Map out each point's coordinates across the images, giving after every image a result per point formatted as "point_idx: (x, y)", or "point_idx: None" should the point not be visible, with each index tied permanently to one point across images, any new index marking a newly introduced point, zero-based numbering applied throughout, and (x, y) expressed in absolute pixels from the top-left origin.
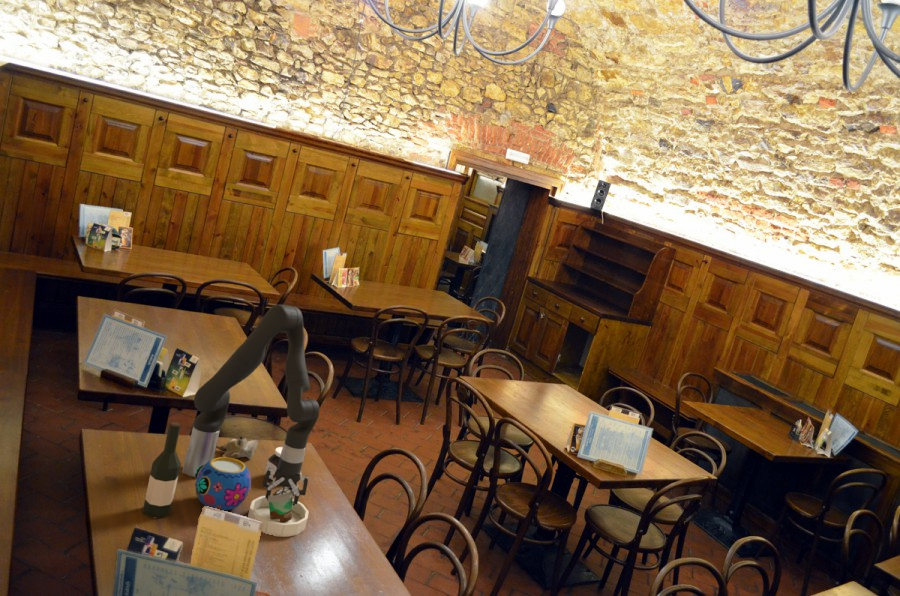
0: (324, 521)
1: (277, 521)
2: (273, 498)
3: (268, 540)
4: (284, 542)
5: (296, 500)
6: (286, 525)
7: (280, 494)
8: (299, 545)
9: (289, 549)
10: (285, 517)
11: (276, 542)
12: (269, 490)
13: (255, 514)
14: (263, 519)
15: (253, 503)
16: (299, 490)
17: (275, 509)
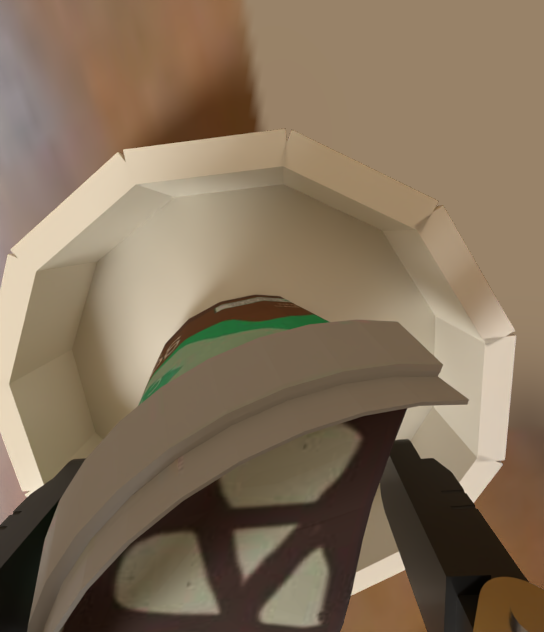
0: (3, 490)
1: (232, 302)
2: (337, 361)
3: (241, 81)
4: (125, 114)
5: (21, 523)
6: (102, 170)
7: (246, 544)
8: (16, 125)
9: (56, 20)
10: (173, 343)
11: (178, 82)
12: (482, 575)
13: (445, 222)
14: (346, 157)
15: (489, 418)
16: None
17: (263, 325)
